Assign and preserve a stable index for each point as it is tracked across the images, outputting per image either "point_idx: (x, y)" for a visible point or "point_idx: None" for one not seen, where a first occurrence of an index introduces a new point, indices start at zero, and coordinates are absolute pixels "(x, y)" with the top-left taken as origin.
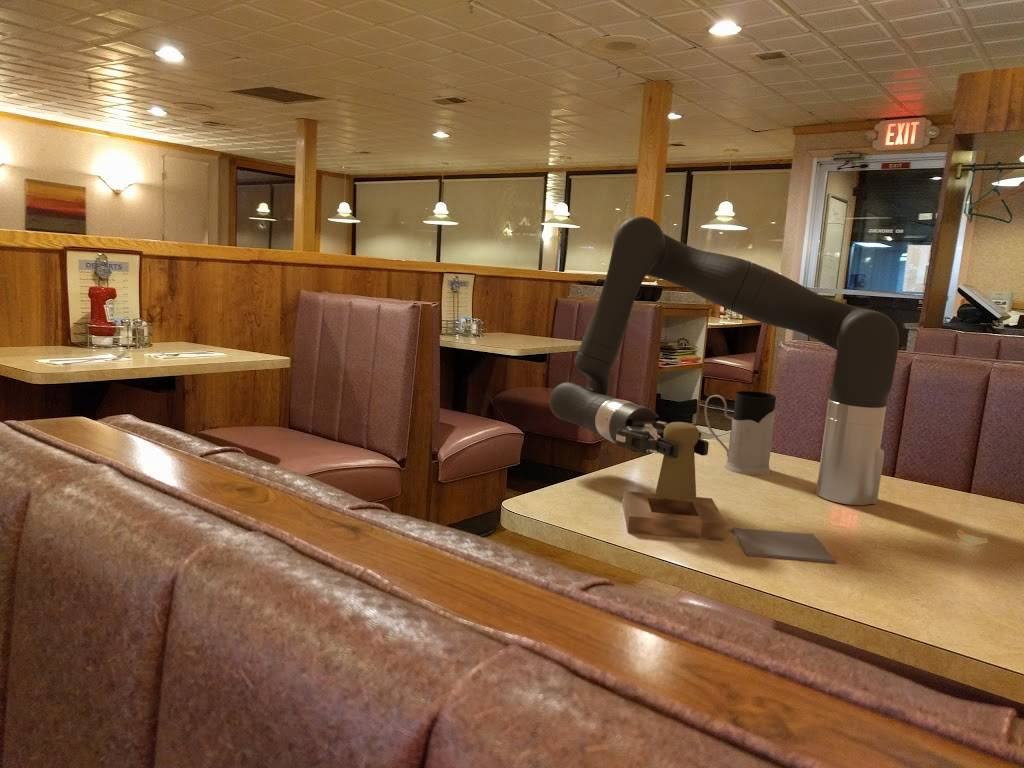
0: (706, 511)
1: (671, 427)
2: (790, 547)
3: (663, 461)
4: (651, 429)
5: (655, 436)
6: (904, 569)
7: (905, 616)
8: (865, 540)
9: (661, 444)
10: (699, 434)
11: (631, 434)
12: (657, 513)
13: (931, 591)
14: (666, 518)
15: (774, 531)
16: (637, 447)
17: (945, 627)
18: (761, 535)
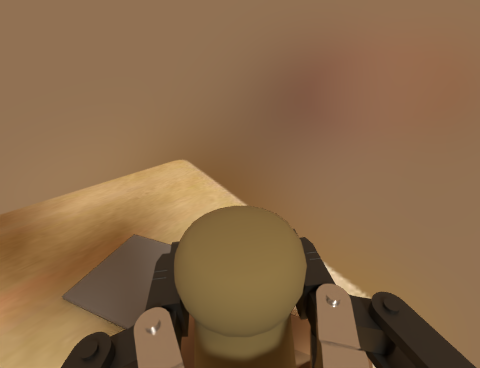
0: (192, 347)
1: (290, 227)
2: (145, 263)
3: (292, 332)
4: (351, 366)
5: (338, 293)
6: (88, 222)
7: (180, 182)
8: (14, 280)
9: (322, 261)
10: (100, 336)
11: (464, 361)
12: (305, 348)
13: (121, 198)
14: (294, 319)
15: (105, 312)
16: (403, 362)
17: (171, 175)
18: (142, 300)
